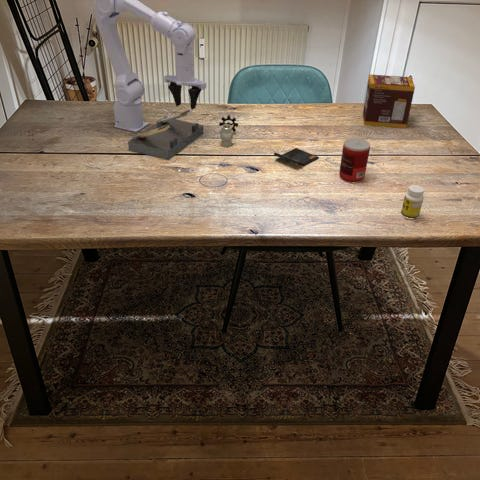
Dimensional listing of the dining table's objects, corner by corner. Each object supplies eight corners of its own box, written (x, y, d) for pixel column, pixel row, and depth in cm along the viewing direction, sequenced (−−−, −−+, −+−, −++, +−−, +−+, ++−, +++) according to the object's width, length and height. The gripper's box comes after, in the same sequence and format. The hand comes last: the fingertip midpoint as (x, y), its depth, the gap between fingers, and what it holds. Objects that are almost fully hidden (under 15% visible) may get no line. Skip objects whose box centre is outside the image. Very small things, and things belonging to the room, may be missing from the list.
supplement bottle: (398, 210, 146) (404, 183, 141) (414, 210, 146) (421, 183, 141) (404, 220, 142) (410, 193, 137) (421, 219, 142) (428, 192, 137)
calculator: (318, 159, 171) (319, 150, 169) (296, 171, 164) (297, 162, 162) (295, 150, 176) (296, 141, 174) (273, 161, 169) (273, 152, 167)
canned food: (366, 173, 163) (372, 140, 157) (362, 185, 157) (368, 151, 151) (341, 168, 165) (346, 136, 159) (336, 180, 159) (341, 146, 152)
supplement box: (361, 114, 202) (368, 73, 193) (403, 117, 201) (411, 76, 192) (363, 125, 194) (370, 83, 185) (406, 128, 192) (415, 86, 183)
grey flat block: (128, 150, 172) (127, 136, 169) (166, 125, 189) (165, 112, 186) (168, 160, 167) (167, 146, 164) (203, 133, 184) (203, 120, 181)
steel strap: (160, 123, 182) (159, 120, 182) (164, 120, 184) (163, 117, 184) (187, 115, 176) (186, 112, 175) (191, 112, 178) (190, 109, 177)
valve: (235, 148, 175) (238, 133, 185) (236, 129, 172) (238, 115, 181) (216, 147, 176) (219, 132, 185) (216, 128, 172) (219, 114, 182)
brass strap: (137, 138, 172) (135, 135, 171) (142, 135, 174) (140, 132, 174) (165, 130, 165) (163, 127, 165) (170, 127, 167) (168, 124, 167)
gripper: (158, 65, 168) (160, 106, 175) (198, 72, 163) (199, 114, 171) (169, 59, 173) (171, 99, 181) (209, 66, 168) (209, 107, 176)
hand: (185, 106), depth 176 cm, fingers open, 5 cm apart
